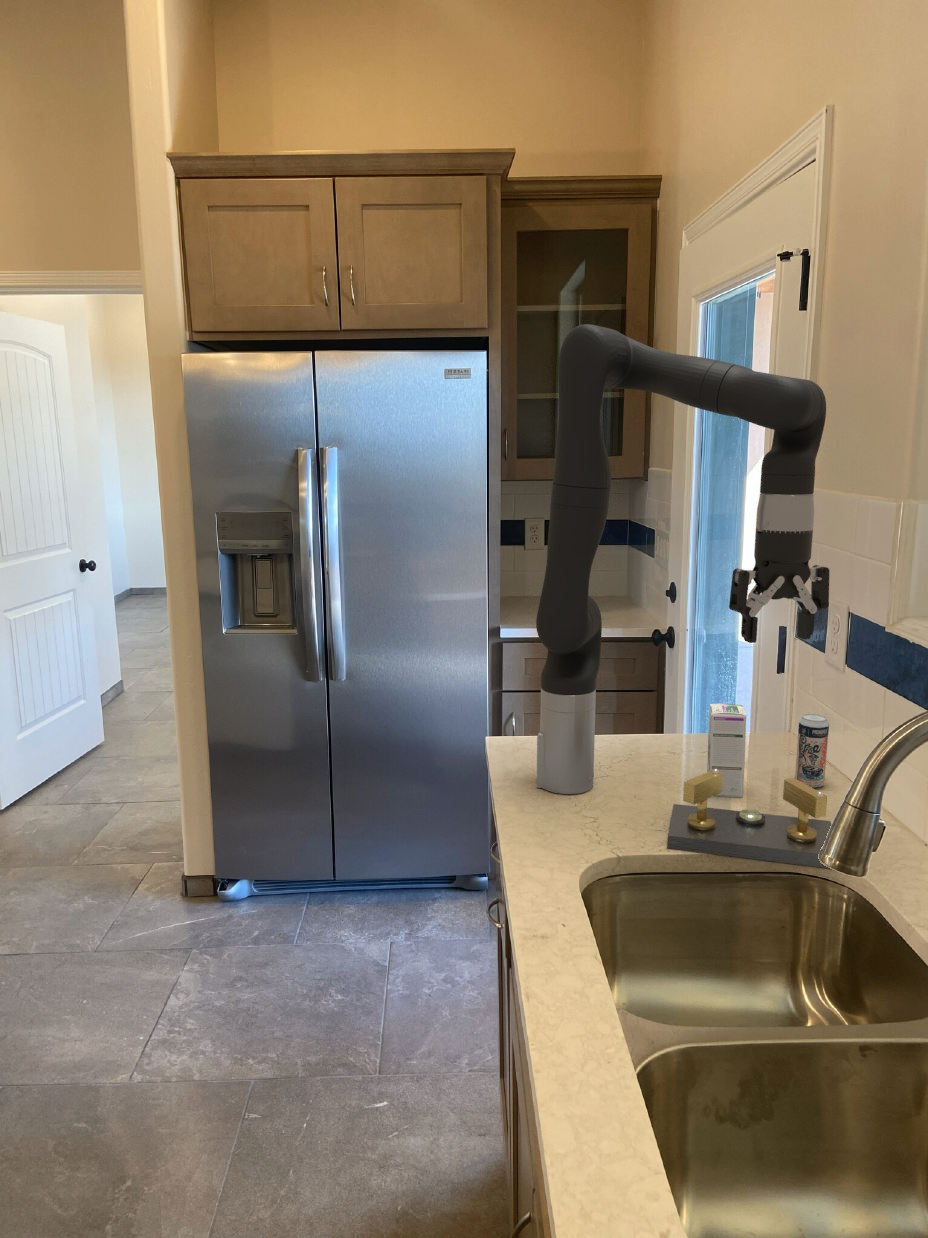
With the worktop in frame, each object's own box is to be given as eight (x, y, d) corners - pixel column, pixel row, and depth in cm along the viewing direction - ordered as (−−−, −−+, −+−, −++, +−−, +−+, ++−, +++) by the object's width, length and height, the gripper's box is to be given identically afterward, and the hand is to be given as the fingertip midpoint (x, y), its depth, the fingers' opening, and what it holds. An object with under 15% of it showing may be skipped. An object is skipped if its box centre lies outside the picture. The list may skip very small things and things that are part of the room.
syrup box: (743, 798, 148) (748, 714, 145) (706, 795, 149) (711, 712, 146) (740, 785, 153) (745, 704, 150) (704, 783, 155) (709, 702, 152)
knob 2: (774, 828, 132) (778, 776, 130) (797, 824, 133) (801, 773, 131) (806, 848, 125) (810, 794, 123) (829, 844, 126) (834, 791, 125)
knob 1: (698, 835, 129) (701, 783, 128) (675, 826, 132) (678, 775, 131) (726, 822, 134) (729, 771, 132) (703, 814, 137) (706, 764, 135)
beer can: (796, 788, 152) (801, 720, 150) (792, 778, 157) (797, 712, 154) (826, 790, 151) (831, 722, 149) (822, 780, 155) (827, 714, 153)
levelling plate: (667, 848, 130) (668, 829, 129) (673, 815, 141) (673, 797, 141) (837, 869, 123) (839, 849, 123) (829, 833, 135) (831, 814, 134)
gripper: (813, 522, 130) (805, 632, 133) (724, 525, 126) (718, 637, 130) (846, 527, 122) (837, 643, 126) (752, 530, 119) (745, 648, 122)
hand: (776, 640), depth 128 cm, fingers open, 8 cm apart
